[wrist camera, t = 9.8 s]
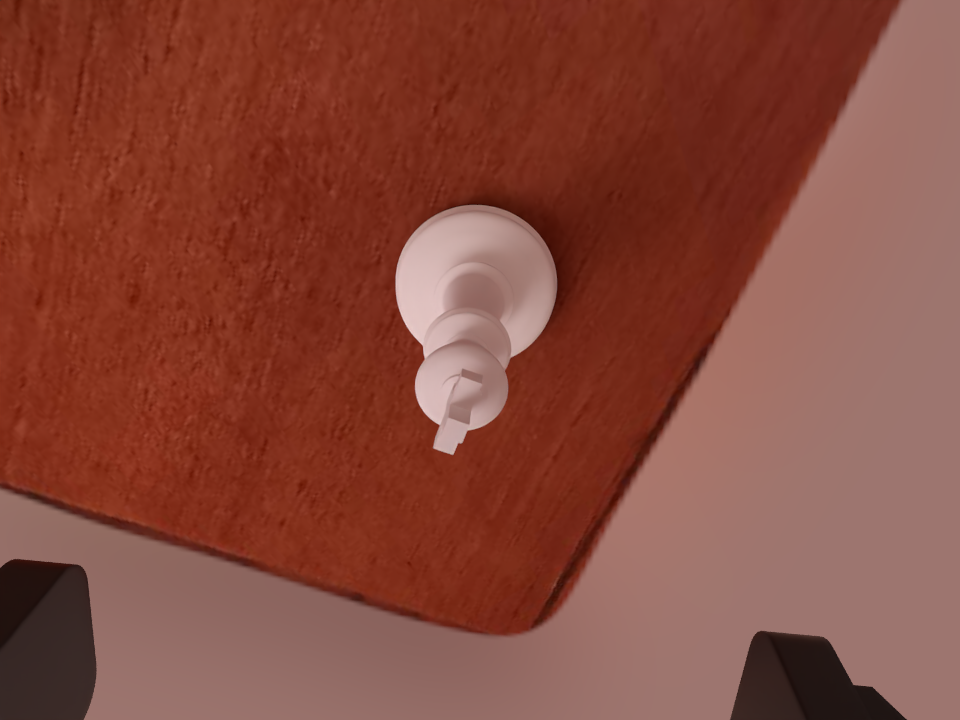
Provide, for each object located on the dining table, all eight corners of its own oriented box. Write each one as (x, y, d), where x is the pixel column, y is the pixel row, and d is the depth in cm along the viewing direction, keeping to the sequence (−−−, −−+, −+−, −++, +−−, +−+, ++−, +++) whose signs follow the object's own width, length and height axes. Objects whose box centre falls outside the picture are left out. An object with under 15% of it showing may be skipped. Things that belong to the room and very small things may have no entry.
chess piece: (582, 238, 24) (625, 362, 15) (521, 380, 26) (527, 570, 17) (426, 180, 24) (371, 269, 15) (375, 328, 26) (297, 494, 16)
